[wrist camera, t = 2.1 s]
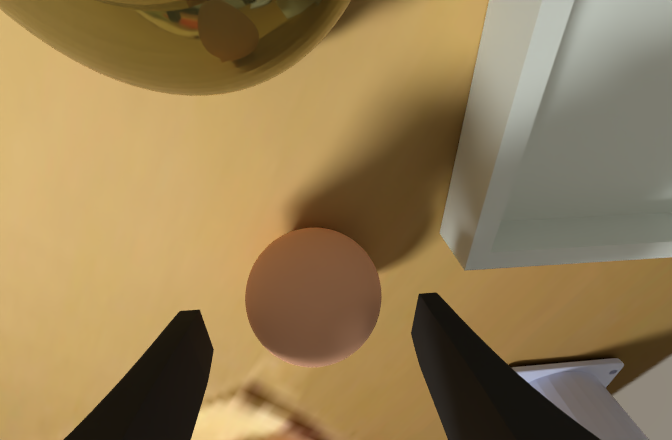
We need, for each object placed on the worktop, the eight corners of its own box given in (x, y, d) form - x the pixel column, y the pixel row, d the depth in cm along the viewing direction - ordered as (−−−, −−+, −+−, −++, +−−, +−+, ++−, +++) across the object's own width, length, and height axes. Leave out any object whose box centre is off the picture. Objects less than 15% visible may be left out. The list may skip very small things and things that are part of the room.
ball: (365, 289, 15) (389, 390, 11) (263, 296, 15) (246, 403, 10) (371, 200, 12) (405, 288, 8) (247, 206, 12) (215, 301, 8)
